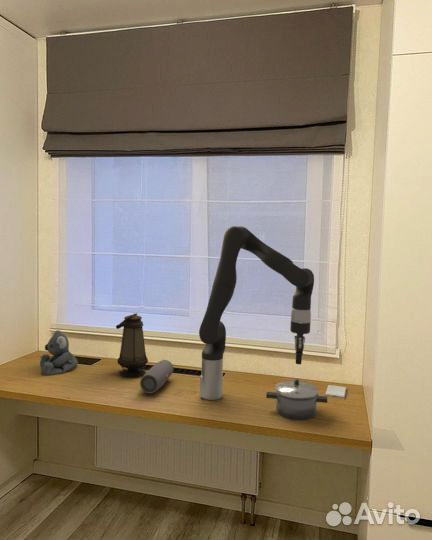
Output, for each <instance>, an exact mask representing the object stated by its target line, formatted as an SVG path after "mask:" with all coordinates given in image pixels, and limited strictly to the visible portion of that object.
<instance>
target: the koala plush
mask: <svg viewBox="0 0 432 540" xmlns="http://www.w3.org/2000/svg"><path fill="white" fill-rule="evenodd" d="M69 344H70V342H69V339H68V337H67V336H66V334H64V333H62V332H61V330H59V329H56V330H54V331H53V334H52V336H51V337H50V339H49V340H48V342H47V344H45V345H44V349H45V351H47V352H48V353H49V354H50V355H52V356H50V355H49V354H45V353H43V354H42V356H41V358H40V361H39V366H40V368H41V372H40V374H41V375H42V376H54V375H61V374H64V373H66V372H70V371H72V370H75V369H77V368H78V365H79V362H78V359H77V358H76V356H75V355H74V354H73V353H71V352H70V350H69V349H70V348H69V347H70V345H69Z"/></svg>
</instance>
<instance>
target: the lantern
mask: <svg viewBox="0 0 432 540" xmlns="http://www.w3.org/2000/svg"><path fill="white" fill-rule="evenodd" d="M142 319H143V318H142V316H141V315H138V313H133V314H130V315H127V316H124V319H123V321H121V322H120V323H118V324H117V325H115V328H116V329H117V330H119V329H121V328H122V336H121V343H120V344H121V345H120V352H119V357H118V358H117V361H116V362H117V364H118V365H120V367H121V369H122V370H121V371H120V372H119V376H120V377H122V378H125V379H135V378H142V377H143V376H144V375H145V373H146V372H147V371H145V370H144V369H142V367H144V366H145V365H146V364H147V363H148V362H149V358H148V357H147V354H146V348H145V347H146V345H145V336H144V330H143V329H144V328H143V327H144V322H143V321H142Z"/></svg>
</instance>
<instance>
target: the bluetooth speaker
mask: <svg viewBox="0 0 432 540" xmlns="http://www.w3.org/2000/svg"><path fill="white" fill-rule="evenodd" d="M145 372H146V373H145V375H144V376H142V377H141V379H140V382H139V386H140V388H141V390H142V391H143V392H145V393H146V394H154V393H155V392H157V391H159V390H160V389H161V388H162V386H163V385H164V384H165V383H166V382H167V381H168V380H169V379H170V377H171V376H172V374H173V372H174V365H173V364H172V362H171V361H170V360H168V359H162V360H159V361H158V362H157V363H155V364H154V365H153V366H152V367H151V368H149V369H148V370H147V371H145Z"/></svg>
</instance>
